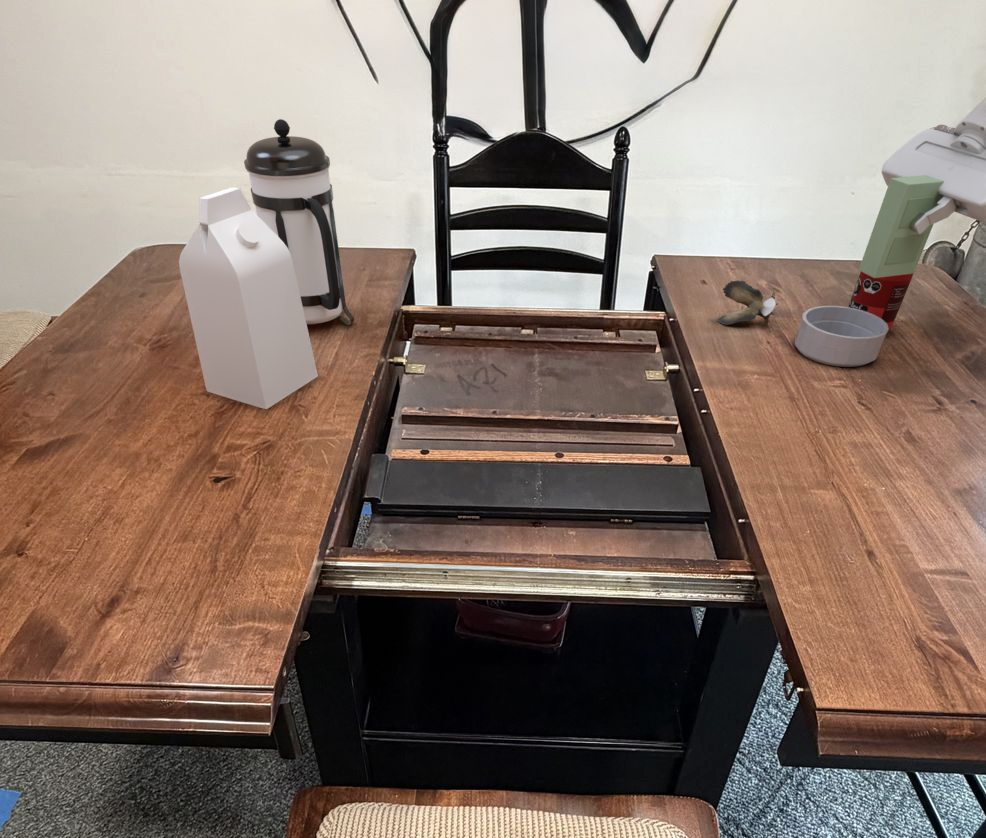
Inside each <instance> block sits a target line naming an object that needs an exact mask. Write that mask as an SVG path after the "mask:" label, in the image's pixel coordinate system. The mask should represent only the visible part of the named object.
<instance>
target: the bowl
mask: <svg viewBox="0 0 986 838" xmlns="http://www.w3.org/2000/svg"><path fill="white" fill-rule="evenodd" d="M888 330H889V328H888V325H887V323H886V322H885V321H884V320H883V319H881V318H879V317H878V316H876V315H874V314H871V313H868V312H866V311H863V310H859V309H855V308H850V307H848V306H841V305H818V306H814V307H811V308H809V309H805V311H803V313H802V314H801V317H800V320H799V324H798V327H797V330H796V333H795V337H794V346H795V347H796V348H797V350H798V351H799V352H800V354H802V355H803V356H804V357H806V358H808V359H810V360H812V361H815V362H817V363H820V364H824V365H828V366H833V367H843V368H851V367H852V368H854V367H855V368H856V367H861V366H865V365H867V364H870V363H872V362H874V361H875V360H876V359H877V358H878V357H879V356H880V355H879V354H880V352H881V350H882V347H883V344H884V342H885V339H886V337H887V336H888V335H887V334H888V333H889V332H888ZM889 331H890V330H889ZM887 332H888V333H887Z"/></svg>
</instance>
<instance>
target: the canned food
mask: <svg viewBox="0 0 986 838" xmlns="http://www.w3.org/2000/svg"><path fill="white" fill-rule="evenodd" d="M914 274H915V272H914V273H913V274H905V275H897V276H889V277H880V278H873V277H871V276H869V275H867V274H865V273H863V272H861V271H859V275H858V278H857V281H856V284H855V286H854V289H853V292H852V295H851V298H850V300H849V302H848V303H849V304H848V306H847V307H850V308H855V309H859V310H863V311H866V312H868V313H871V314H874V315H876V316H878V317H879V318H881V319H883V320H884V321H885V322H886V323H887V325H888V328H889V330H888V332H887V334H888V333H889V332H890V331H891V329H892V328H893V325H894V323H895V321H896V318H897V316H898V314H899V311H900V308H901V307H902V304H903V302H904V298H905V297H906V294H907V291H908V289H909V287H910V284H911V281H912V279H913V276H914Z"/></svg>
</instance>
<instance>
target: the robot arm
mask: <svg viewBox="0 0 986 838" xmlns="http://www.w3.org/2000/svg"><path fill="white" fill-rule="evenodd" d="M881 175H882V178H883V181H884V183H885V185H886V187H888V185H889V182H890V179H891V178H898V177H910V176H922V175H927V176H930V177H933V178H936V179H939V180H942V181H944V182H943V183H942V184H941V185H940V187H939V188H938V189H937V193H938V194H941V195H943V198H942V199H941V200H940V201H939V202H937V204H938V206H937V207H935V208H933V209H931V210H930V211H928V212H926V213H924V214H923V213H919V214H918V215H917V216H916V217H915V218H914V219H913V220H912V221H911V222H910V227H911V230H912V231H914V232H916V233H919V234H921V233H922V232H923V231H924V230H925V229H926V228H928V227H929V226H930V225H932V224H933V225H934V224H936V223H938V222H941V221H943V220H946V219H948V218H949V217H950V216H951V215H952V214H953V213H954V212H955V213H957V214H959V215H962V216H964V217H968V218H970V219H973V220H975V221H978V222H980V223H984V224H986V96H985V97H984V98H983V99H982V100H981V101H980V102H979V103H978V104H977V105H976V106H975V107H974V108H973V109H972V110H971V111H970V112H969V113H968V114H967V115H966V116H964V118H962V119H961V120H960V121H959V122H958V123H957V125H956V126H955V127H951V126H947V125H946V124H938V125H936V126H934V127H931V128H926V129H924V130H923V131H920V132H919V133H917V134H916V135H914V136H913V137H912V138H910V139H909V140H908V141H907V142H906V143H904V144H903V145H902V146H901V147H900V148H899V149H897V150H896V151H895V152H894V153H893V154H892V155H891V156H890V157H889V158H887V159H886V160H885V162H884V163H883V164H882V168H881Z"/></svg>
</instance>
